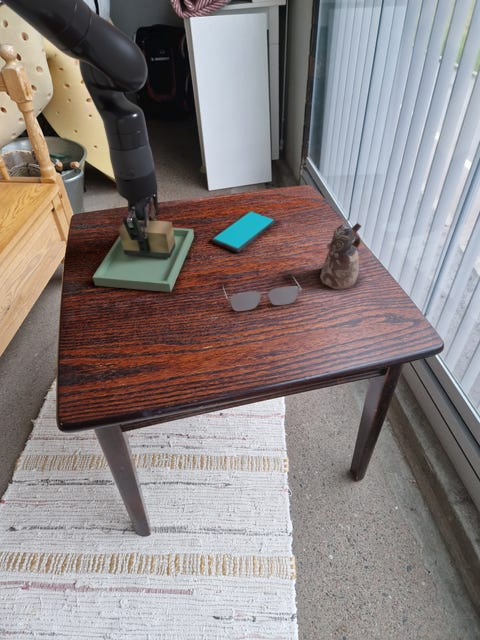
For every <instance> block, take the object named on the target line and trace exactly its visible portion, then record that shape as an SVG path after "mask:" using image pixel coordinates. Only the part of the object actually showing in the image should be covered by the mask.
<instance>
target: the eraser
mask: <svg viewBox="0 0 480 640" xmlns="http://www.w3.org/2000/svg"><path fill="white" fill-rule="evenodd" d="M139 221H140V222H145V221H144V220H143V221H141V220H139ZM173 228H174V226H173V222H172V221H168V220H167V221H166V220H164V221H163V220H157V221H152V220H149V226H148V227H147V232H148V239H149V244H150V249H151V251H150V253H141V252H140V251H139V246H138V242H137V240H131V239H130V237H129V234H128V232H127V230H126V227H125V225H124V223H122V224H121V225H120V227H119V228H118V234H119V236H120V238H121V242H122V246H123V250H124V254H125V255H137V256H150V257H162V258H170V257H171V255H172V253H173V251H174V249H175V246H176V245H175V238H174V232H173ZM141 229H142V232H143V228H142V227H141Z"/></svg>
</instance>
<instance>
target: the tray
mask: <svg viewBox="0 0 480 640" xmlns="http://www.w3.org/2000/svg"><path fill="white" fill-rule="evenodd" d="M173 232H174V238H175V245H176V246H175V249H174V251H173V253H172V255H171V257H170V258H162V257H150V256H137V255H125V254H124V250H123V246H122V242H121V238H120V235H119V236H118V237H117V239H116V240H115V242H114V244H113V245H112V246H111V248H110V249H109V251H108V253H107V254H106V256H105V257H104V259H103V260H102V261H101V264H100V265H99V266H98V268H97V269H96V271H95V273H94V274H93V276H92V280H93V283H94V286H97V287H108V288H121V289H130V290H132V289H133V290H141V291H154V292H162V293H172V291H173V288H174V286H175V283H176V280H177V278H178V276H179V274H180V271H181V270H182V266H183V264H184V262H185V259H186V257H187V255H188V253H189V250H190V247H191V245H192V244H193V241H194V238H195V234H194V229H193V228H184V227H182V228H181V227H173Z"/></svg>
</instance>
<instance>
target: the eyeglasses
mask: <svg viewBox="0 0 480 640" xmlns="http://www.w3.org/2000/svg"><path fill="white" fill-rule="evenodd" d="M289 276H291V277H292V278H293V280H294V281H295V283H296V284H297V286H296V285H291V286H290V285H289V286H283V287H282V286H281V287H276V288H273V289H271V290H269V292H268V291H263V292H259V291H248V292H242V293H235V294H233V295H231V296H230V298H228V296H227V293H226V290H225V287H224V283H223V282H222V283H221V286H222V288H223V291H224V294H225V295H224V296H225V298H226V301H227V302H228V301H229V302H230V305H231V307H232V309H233V310H234V311H236V312H245V311H250V310H253V309H256V308H257V307H258V306H259V304H260V301H261V297H262V295H263V294H267V297H268V299H269V300H270V303H271V304H272V305H274V306H284V305H290V304H293V303H294V302H295V301H296V300H297V298H298V294H299V291H302V287H301V285H300V284H299V282H298V281H297V280H296V278H295V277H294V275H293V274H292V273H288V274H287V276H286V278H288V277H289Z"/></svg>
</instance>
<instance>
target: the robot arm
mask: <svg viewBox="0 0 480 640" xmlns="http://www.w3.org/2000/svg"><path fill="white" fill-rule="evenodd" d="M0 2H1V3H2V4H4V5H5V6H6V7H7V8H9V9H10V10H11V11H13V12H14V13H15V14H16V15H17V16H19V18H21V19H23V21H24V22H26V23H27V24H28V25H29V26H30V27H32V28H33V29H34V30H35V31H36V32H37V33H38V34H40V35H41V36H42V37H43V38H45V39H46V41H48V42H49V43H50V44H52V45H53V46H54V47H55V48H56V49H57V50H58V51H59V52H61V53H63V54H64V55H66V56H67V57H69V58H71V59H73V60H78V67H79V72H80V76H81V78H82V81H83V84H84V86H85V88H86V90H87V92H88V95H89V96H90V98H91V100H92V103H93V105H94V107H95V110H96V111H97V113H98V114H99V116H100V118H101V120H102V123H103V128H104V133H105V136H106V141H107V145H108V151H109V159H110V164H111V168H112V173H113V177H114V181H115V185H116V189H117V193H118V195H120V197H122V198H123V199H125V200H126V202H127V211H128V213H129V214H128V216H123V218H122V222H123V223H124V225H125V227H126V230H127V232H128V234H129V237H130V239H131V240H137V242H138V246H139V251H140V252H141V253H150V251H151V249H150V244H149V239H148V232H147V227H148V226H149V220H152V221H158V219H157V217H158V216H159V214H160V212H159V202H158V201H159V199H158V189H159V188H158V187H159V186H158V181H157V180H158V179H157V176H156V175H157V174H156V168H155V162H154V157H153V152H152V148H151V145H150V141H149V135H148V129H147V124H146V117H145V114H144V111H143V109H142V108H141V107H140V106H138V105H137V104H135V103H133V102H131V101H130V100H128V99H127V98H126V97H125V95H124V94H133V93H134V94H135V93H136V92H138V91H140V90H141V89H142V88H143V87H144V85H145V84H146V81H147V78H148V65H147V61H146V57H145V55H144V53H143V51H142V50H141V48H140V47H139V46H138V44H137V43H136V42H135V41H134V40H133V39H132V37H130V36H129V35H127V34H126V33H125V32H123V31H122V30H120V29H119V28H118V27H116V26H115V25H114V24H112V23H111V22H110V21H108V20H107V19H105V18H103V17H102V16H100V15H99V14H97V13H96V12H95V11H93V9H92V8H91V7H90V6H89V4H88V3H87V2H86V1H85V0H0ZM139 220H141V221H143V220H144V221H145V222H140V221H139ZM123 223H122V224H123ZM141 227H142V228H143V232H142V229H141Z"/></svg>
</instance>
